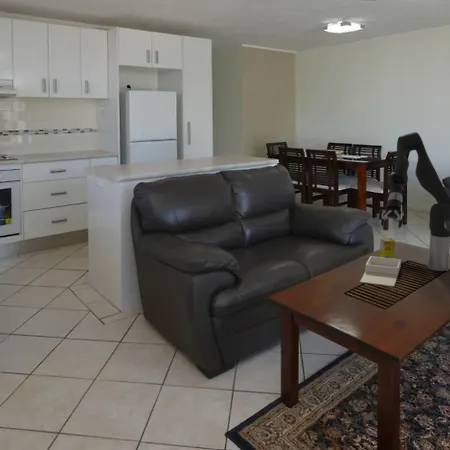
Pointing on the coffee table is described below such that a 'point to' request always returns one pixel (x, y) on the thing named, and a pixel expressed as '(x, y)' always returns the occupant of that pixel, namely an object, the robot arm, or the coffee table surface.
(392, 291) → the coffee table surface
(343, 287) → the coffee table surface
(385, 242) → the supplement box
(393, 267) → the box
